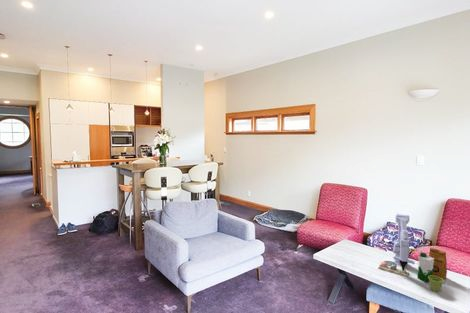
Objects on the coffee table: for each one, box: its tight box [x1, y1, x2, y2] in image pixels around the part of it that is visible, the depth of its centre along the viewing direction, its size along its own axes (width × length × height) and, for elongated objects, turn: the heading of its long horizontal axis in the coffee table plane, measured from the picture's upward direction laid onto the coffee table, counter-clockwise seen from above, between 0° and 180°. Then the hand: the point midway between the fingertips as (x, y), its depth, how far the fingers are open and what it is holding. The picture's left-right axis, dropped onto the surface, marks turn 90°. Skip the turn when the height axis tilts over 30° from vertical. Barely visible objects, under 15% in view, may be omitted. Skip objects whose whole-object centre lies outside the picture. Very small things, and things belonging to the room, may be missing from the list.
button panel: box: [377, 263, 410, 278], centre depth 227 cm, size 21×8×2 cm, turn 50°
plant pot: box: [428, 275, 445, 293], centre depth 199 cm, size 9×9×9 cm
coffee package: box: [428, 247, 448, 281], centre depth 219 cm, size 10×12×22 cm
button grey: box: [390, 264, 397, 271], centre depth 227 cm, size 4×4×3 cm
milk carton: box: [417, 252, 434, 283], centre depth 213 cm, size 9×9×20 cm
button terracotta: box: [380, 261, 388, 268], centre depth 231 cm, size 4×4×3 cm
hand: (403, 269), depth 222 cm, fingers closed, pressing on button sage
